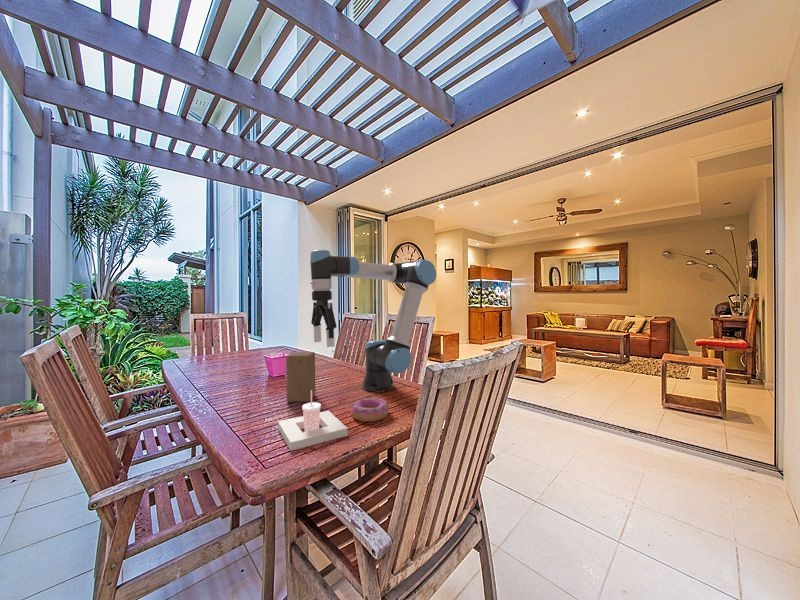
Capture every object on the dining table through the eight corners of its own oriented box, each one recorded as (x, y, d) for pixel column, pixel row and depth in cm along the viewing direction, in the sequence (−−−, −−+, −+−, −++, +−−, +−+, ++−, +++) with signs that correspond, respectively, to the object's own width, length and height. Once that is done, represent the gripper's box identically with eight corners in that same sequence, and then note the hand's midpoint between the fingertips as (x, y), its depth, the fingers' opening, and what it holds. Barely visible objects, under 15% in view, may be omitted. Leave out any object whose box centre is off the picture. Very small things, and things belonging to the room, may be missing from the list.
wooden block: (309, 402, 133) (308, 355, 132) (285, 402, 133) (285, 355, 132) (316, 395, 143) (315, 351, 142) (294, 395, 143) (293, 351, 142)
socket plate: (328, 417, 118) (328, 410, 118) (347, 435, 102) (347, 428, 102) (278, 428, 108) (277, 421, 108) (290, 450, 93) (290, 442, 93)
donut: (344, 415, 120) (344, 402, 120) (374, 406, 129) (374, 393, 129) (365, 427, 109) (365, 413, 109) (397, 416, 118) (396, 403, 118)
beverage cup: (310, 426, 109) (309, 386, 109) (325, 429, 107) (324, 389, 107) (298, 434, 104) (297, 392, 103) (313, 437, 101) (312, 394, 101)
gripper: (302, 290, 131) (304, 341, 131) (324, 290, 110) (326, 350, 111) (319, 290, 135) (321, 339, 136) (344, 289, 114) (346, 347, 115)
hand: (323, 344), depth 123 cm, fingers open, 13 cm apart
